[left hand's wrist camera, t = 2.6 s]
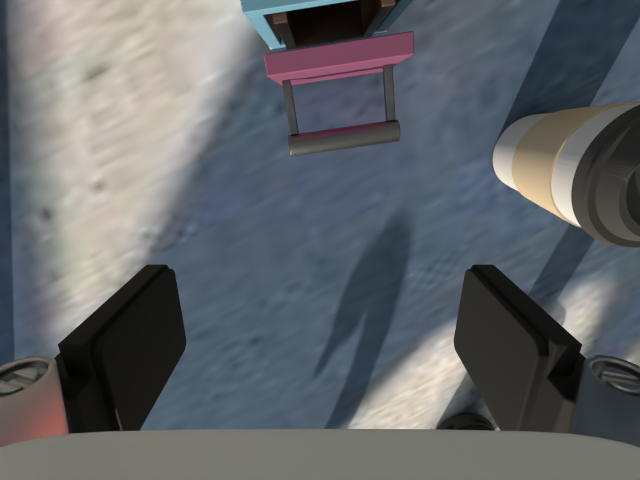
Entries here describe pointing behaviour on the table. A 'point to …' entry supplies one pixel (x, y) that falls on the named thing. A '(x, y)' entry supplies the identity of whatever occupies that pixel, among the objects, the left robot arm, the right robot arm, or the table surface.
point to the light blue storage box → (262, 3)
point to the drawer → (338, 65)
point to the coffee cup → (579, 167)
